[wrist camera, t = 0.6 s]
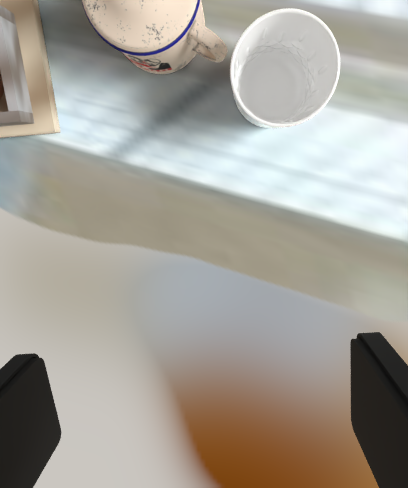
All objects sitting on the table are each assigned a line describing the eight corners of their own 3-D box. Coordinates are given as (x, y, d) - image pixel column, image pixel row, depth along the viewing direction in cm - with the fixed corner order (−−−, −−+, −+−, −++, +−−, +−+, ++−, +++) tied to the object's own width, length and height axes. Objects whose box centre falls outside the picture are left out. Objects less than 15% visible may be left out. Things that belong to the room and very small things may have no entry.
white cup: (312, 126, 36) (344, 117, 26) (235, 139, 37) (237, 135, 27) (305, 41, 34) (336, -3, 24) (223, 57, 35) (222, 20, 25)
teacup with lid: (99, 45, 35) (38, -5, 24) (142, -48, 33) (98, -152, 22) (201, 111, 36) (190, 93, 25) (251, 25, 34) (262, -39, 23)
